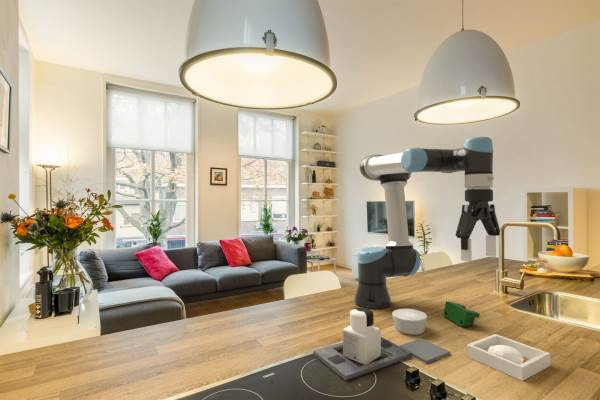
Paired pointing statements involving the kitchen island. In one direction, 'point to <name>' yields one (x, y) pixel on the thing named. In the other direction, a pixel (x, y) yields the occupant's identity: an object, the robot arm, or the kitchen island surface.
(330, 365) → the flat gray rectangular frame
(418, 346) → the plate
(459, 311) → the green angular block
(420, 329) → the ramekin
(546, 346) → the kitchen island surface
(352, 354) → the container
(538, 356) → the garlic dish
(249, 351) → the kitchen island surface
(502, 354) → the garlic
